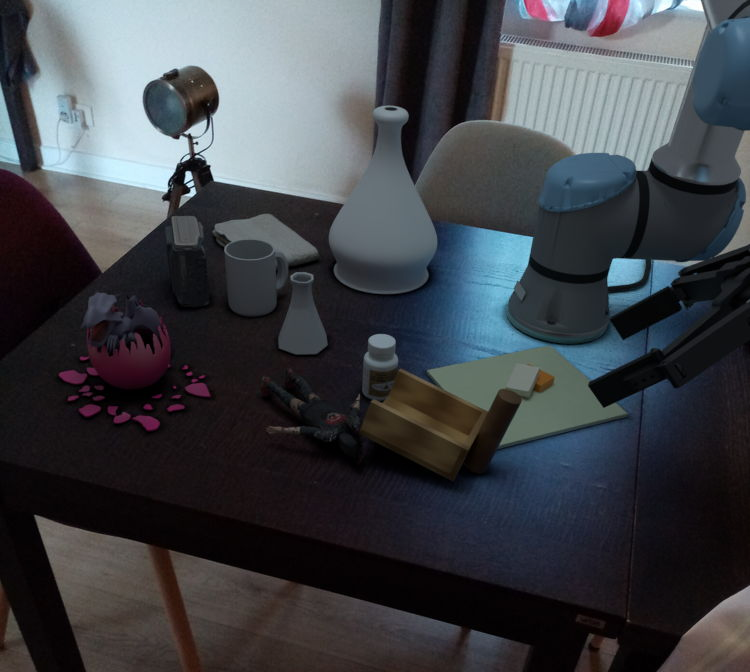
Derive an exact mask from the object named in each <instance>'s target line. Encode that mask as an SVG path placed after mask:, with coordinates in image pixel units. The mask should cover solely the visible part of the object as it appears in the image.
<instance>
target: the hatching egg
mask: <svg viewBox="0 0 750 672" xmlns="http://www.w3.org/2000/svg"><path fill="white" fill-rule="evenodd" d="M125 295H126V296H125V297H126V298H125V307H124V311H125V312H121V311H120V310H119V309H118V300H119V299H120V298H121V297H122V294H118V293H117V294H107V293H106V292H100V291H98V290H95V291H94V294H93V295H92V296H90V297H88V301H87V302H88V303H87V310H86V312H85V314H84V317H83V322H82V323H81V325H80V327H79V330H83V329H85V328H87V329H86V345H87V352H88V355H87V356H82V355H81V356H80V357H79V360H80V361H83V362H84V361H87V360H90V363H91V365H92V367H86V372H87V373H86V372H85V373H79V372H77V371H76V370H74V369H72V370H66V371H61V372H59V373H58V377H59V379H61V380H62V381H64V382H65V383H68V384H71V385H74V386H77V385H83V384H84V383H85V382H86V380H87V378H88V374H89V376H94V377H98V376H99V377H100V378H101V379H102V380H103V381H104V382H106V383H108V384H109V385H111V386H112V387H115V388H117V389H121V390H131V391H133V390H141V389H145V388H147V387H150V386H152V385H154V384H155V383H157V382H158V381H159V380H161V378H162V377H163V376H164V375H165V374H166V372H167V370H168V369H169V368H170V367H171V364H170V361H171V355H172V348H171V347H172V346H171V341H170V336H169V333H168V329H167V327H166V324H165V322H164V320H163V317H162V316H159V314H158V311H155V309H153V308H152V307H144V304H143V302H142V300H138V297H137V296H136V295H132V296H130V295H129V294H128V293H126V294H125ZM181 369H182V370H186V371H187V370H188V369H189V366H188V365H186V364H185V365H184V367H182V368H181ZM185 375H186V376H187V377H191V376H193V372H192V371H189V372H187V373H186V374H185ZM205 377H206V375H204V374H203V375H201V376H199V377H198V379H196V378H192V379H191V383H190V384H188V385H187V386H185V387H184V390H185V392H186V393H188V394H190V395H192V396H196V397H199V398H211V397H212V396H211V394H210V392H209V389H208V386H207V385H206V383H204V382H199V379H204V378H205ZM196 382H197V383H196ZM93 387H94V389H95V390H97V391H103V390H104V388H105V386H104V385H94V386H93ZM172 388H173V389H174V390H176V389H177V386H176V385H173V386H172ZM90 391H91V387H90V385H84V386H83V387H82V388H81V389H79V390H78V393H82V396H84V397H85V396H86V397H91V396H92V395H93V394H94V393H93V392H90ZM79 397H80V396H79V395H71V396H68V399H67V402H73V401H76V400H77V399H79ZM162 397H163V394H162V393H159V394H156V395H154V396H151V399H160V398H162ZM181 397H182V395H181V394H176V395H173V396H171V399H176V400H179V399H180V398H181ZM105 399H106V396H103V395H97V396H93V397H92V400H93V401H94V402H99V401H103V400H105ZM185 407H186V406H184V404H179V403H177V404H173V405H169V406H168V408H166V410H167V412H169V413H171V412H175V411H181V410H185ZM118 409H119V406H117V405H114V406H113V405H108V407H107V413H108V414H109V415H111V416H114V418H113V423H114V424H115V425H117V424H123V423H126V422H128V421H130V420H131V418H132V420H133V421H136V422H137V423H139V424H140V425H142V427H143V428H144V429H145V431H147V432H154V431H157V430H158V429H159V427H160V426H161V422H160V421H159V420H158V419H156V418H154V417H153V416H150V415H140V414H139V415H136V416H135V417H132V415H131V414H130V413H128V412H126V411H123V412H122V413H121V414H119V415H117V413H116V412H117V410H118ZM143 409H144V410H146V411H152V410H153V409H154V408H153V406H152V405H151V404H149V403H146V404H145V405H144V406H143ZM101 411H102V407H101V406H98V405H96V404H92V403H91V404H90V403H89V404H86V405H83V407H81V408H79V409H78V412H79V413H80V414H81V415H82V416H83V417H84V418H90V417H93V416H94V415H97V414H99V413H100V412H101Z"/></svg>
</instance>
